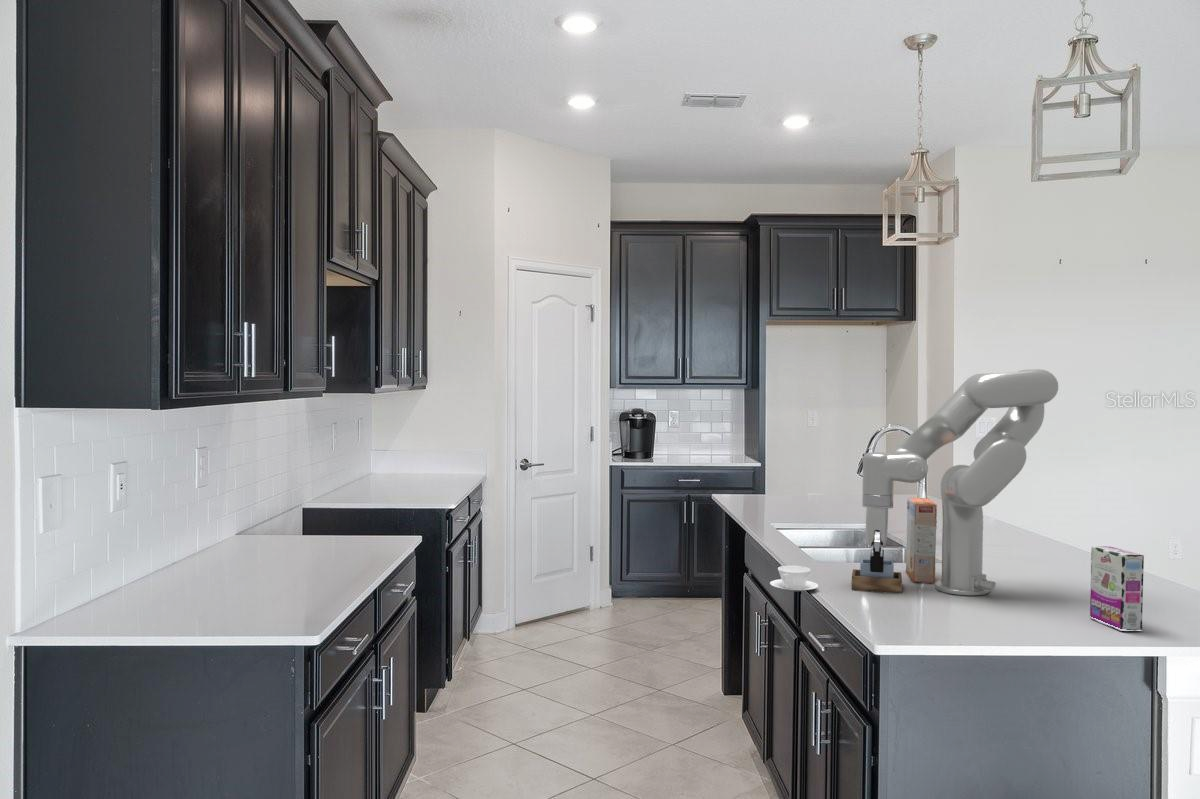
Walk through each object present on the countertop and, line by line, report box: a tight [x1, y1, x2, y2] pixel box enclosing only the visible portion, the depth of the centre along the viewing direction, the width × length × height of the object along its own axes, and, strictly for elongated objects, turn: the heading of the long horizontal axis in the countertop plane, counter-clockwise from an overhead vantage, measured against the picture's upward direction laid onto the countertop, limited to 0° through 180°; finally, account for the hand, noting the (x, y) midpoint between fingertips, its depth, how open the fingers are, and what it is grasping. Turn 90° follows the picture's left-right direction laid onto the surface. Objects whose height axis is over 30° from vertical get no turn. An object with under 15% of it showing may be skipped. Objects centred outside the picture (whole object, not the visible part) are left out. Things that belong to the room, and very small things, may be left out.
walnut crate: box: [851, 568, 903, 594], centre depth 230 cm, size 12×9×4 cm
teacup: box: [769, 565, 819, 593], centre depth 228 cm, size 12×12×5 cm
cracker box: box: [905, 497, 938, 584], centre depth 243 cm, size 14×6×21 cm, turn 168°
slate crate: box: [859, 558, 895, 578], centre depth 230 cm, size 8×6×6 cm
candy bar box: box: [1089, 545, 1145, 631], centre depth 196 cm, size 11×5×16 cm, turn 5°
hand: (876, 568), depth 230 cm, fingers open, 9 cm apart
